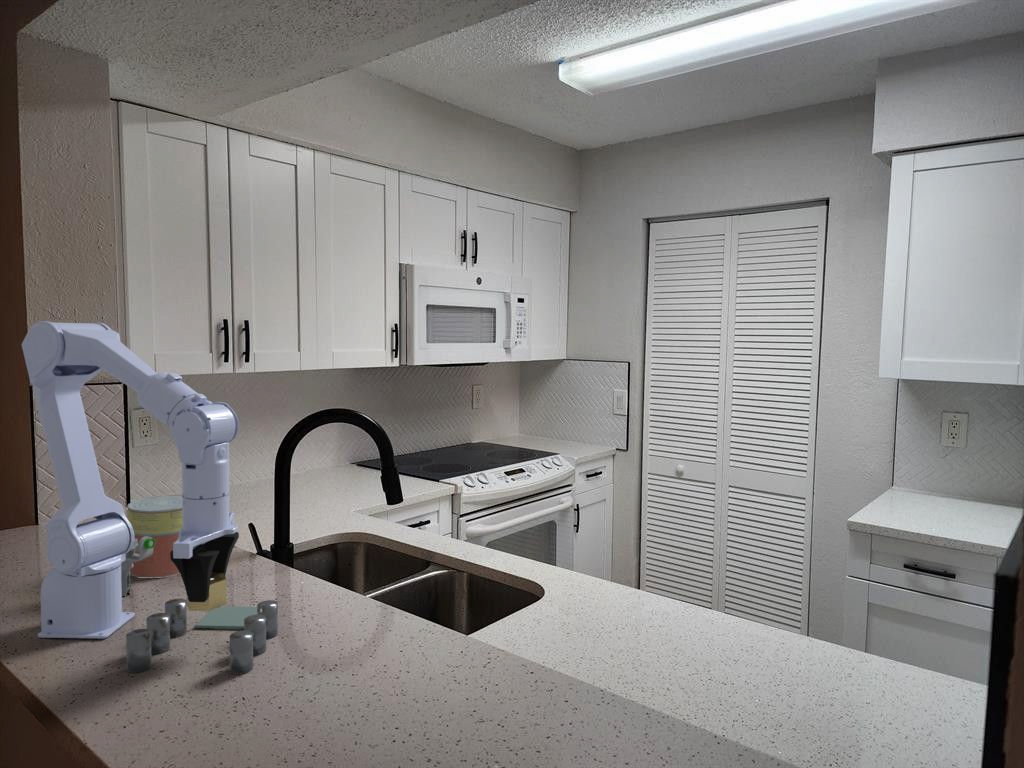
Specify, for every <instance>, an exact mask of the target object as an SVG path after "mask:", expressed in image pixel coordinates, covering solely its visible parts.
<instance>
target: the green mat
mask: <svg viewBox="0 0 1024 768" xmlns="http://www.w3.org/2000/svg"><path fill="white" fill-rule="evenodd" d="M251 615H257V606H231V605H230V606H227V605H223V606H221V607H218V608H216V609H213V610H211V611H207V613H206V614H205V615H204V616H203V617H202V618H201V619H200V620H199V621H197V623H196V624H194V629H195V628H212V629H211V630H241V629H244V619H245V618H246V617H248V616H251ZM213 628H214V629H213Z"/></svg>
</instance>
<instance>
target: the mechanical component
mask: <svg viewBox="0 0 1024 768" xmlns="http://www.w3.org/2000/svg"><path fill="white" fill-rule="evenodd" d="M154 545H155V540H154V539H152V538H151V537H148V536H145V537H143V538H141V539H140V541H139V543H138V539H135V534H134V543H133V546H132V548H131V549H130V551H129V552H128V553H126V554H125V559H126V560H125V561H123V562H122V563H121V585H122V596H125V595H126V596H127V595H128V594H127V593H130V594H131V575H130V569H131V568H133V566H134V565H133V562H138V561H140V560H142V559H145V558H147V557H149V556H151V555H152V554H153V547H154ZM135 551H138V552H139V554H136V553H135ZM126 596H125V597H126Z"/></svg>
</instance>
